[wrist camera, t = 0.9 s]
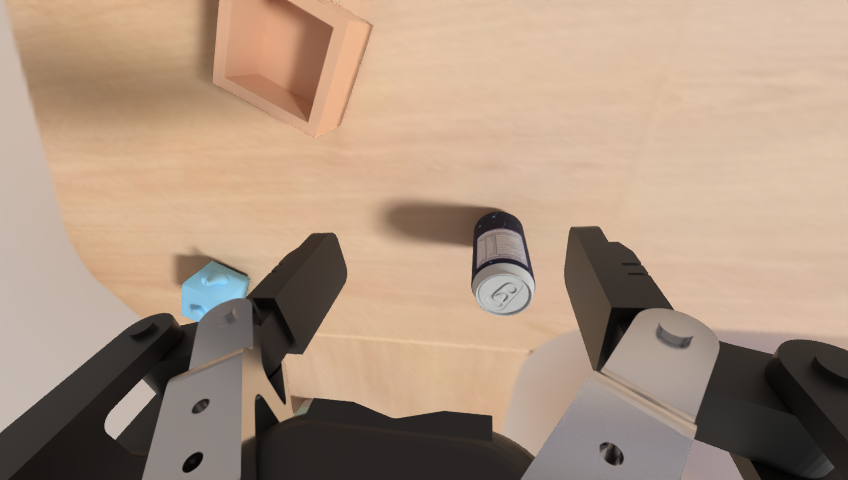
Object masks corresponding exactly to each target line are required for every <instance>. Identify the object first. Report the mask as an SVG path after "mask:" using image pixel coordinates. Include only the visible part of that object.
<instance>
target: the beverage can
mask: <svg viewBox="0 0 848 480" xmlns="http://www.w3.org/2000/svg"><path fill="white" fill-rule="evenodd" d="M471 287H472V292H473V294H474V296H475V297H476V300H477V303H478V304H479V306H480V307H481V308H482V309H483V310H485V311H486V312H488V313H490V314H493V315H497V316H511V315H515V314H518V313H520V312H522V311H524V310H525V309H526V308H527V307H528V306H529V305H530V303H531V301H532V296H533V293H534V291H535V280H534V275H533V271H532V267H531V262H530V258H529V253H528V249H527V244H526V240H525V236H524V231H523V227H522V224H521V223H520V221H519V220H518V219H517V218H516V217H515V216H513V215H511V214H509V213H505V212H493V213H490V214H487V215H485V216H484V217H482V218H481V219H480V220H479V221H478V222H477V224H476V226H475V229H474V241H473V262H472V282H471Z"/></svg>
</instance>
